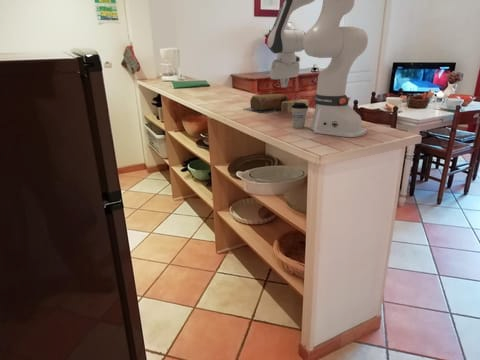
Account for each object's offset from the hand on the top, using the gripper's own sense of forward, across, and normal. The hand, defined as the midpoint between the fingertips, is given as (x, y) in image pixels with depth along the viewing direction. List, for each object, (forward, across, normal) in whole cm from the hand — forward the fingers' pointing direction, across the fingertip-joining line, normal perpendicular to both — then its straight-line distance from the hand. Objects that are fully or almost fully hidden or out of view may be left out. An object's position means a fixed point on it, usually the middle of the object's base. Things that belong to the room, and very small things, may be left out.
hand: (284, 87), depth 176 cm
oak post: (+10, -1, -2) cm, 10 cm away
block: (+8, -11, +10) cm, 17 cm away
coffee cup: (+12, -25, -26) cm, 38 cm away
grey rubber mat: (+12, 0, +11) cm, 16 cm away
